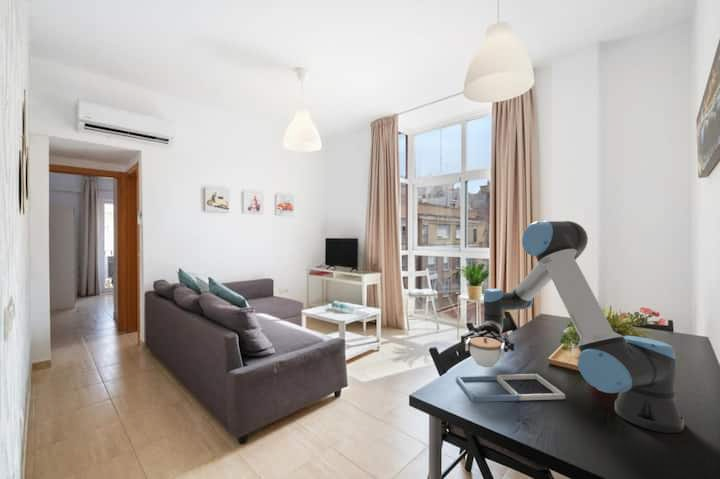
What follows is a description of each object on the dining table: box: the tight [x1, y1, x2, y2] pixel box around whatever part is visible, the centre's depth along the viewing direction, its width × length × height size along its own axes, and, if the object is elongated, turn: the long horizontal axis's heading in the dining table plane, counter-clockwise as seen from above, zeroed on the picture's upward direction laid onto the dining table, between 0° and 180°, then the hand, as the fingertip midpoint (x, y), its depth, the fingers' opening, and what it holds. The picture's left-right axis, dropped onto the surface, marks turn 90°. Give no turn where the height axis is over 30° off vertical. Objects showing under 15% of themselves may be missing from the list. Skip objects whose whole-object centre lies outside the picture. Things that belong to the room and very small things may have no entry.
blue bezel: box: [455, 374, 519, 403], centre depth 113 cm, size 16×16×2 cm
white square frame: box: [496, 373, 566, 401], centre depth 114 cm, size 16×16×2 cm
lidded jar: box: [469, 337, 502, 368], centre depth 113 cm, size 11×11×9 cm
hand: (483, 349), depth 110 cm, fingers closed on lidded jar, 11 cm apart
